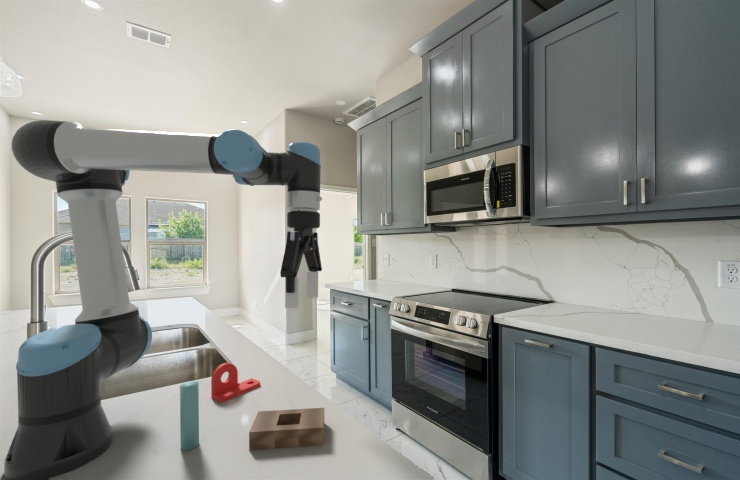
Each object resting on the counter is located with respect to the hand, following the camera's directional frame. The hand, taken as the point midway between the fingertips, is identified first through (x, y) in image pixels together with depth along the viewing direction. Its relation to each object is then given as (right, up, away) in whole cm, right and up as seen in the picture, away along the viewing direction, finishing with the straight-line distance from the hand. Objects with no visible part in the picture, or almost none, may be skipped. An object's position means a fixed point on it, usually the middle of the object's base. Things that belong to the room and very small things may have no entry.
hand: (303, 302), depth 81 cm
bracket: (-19, -26, +11) cm, 34 cm away
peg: (-20, -26, -13) cm, 35 cm away
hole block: (-1, -26, -10) cm, 27 cm away
